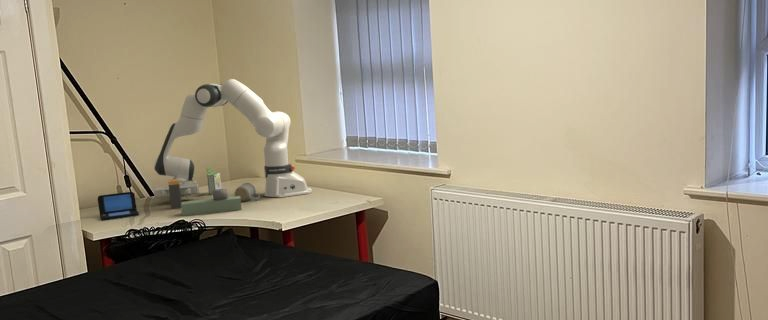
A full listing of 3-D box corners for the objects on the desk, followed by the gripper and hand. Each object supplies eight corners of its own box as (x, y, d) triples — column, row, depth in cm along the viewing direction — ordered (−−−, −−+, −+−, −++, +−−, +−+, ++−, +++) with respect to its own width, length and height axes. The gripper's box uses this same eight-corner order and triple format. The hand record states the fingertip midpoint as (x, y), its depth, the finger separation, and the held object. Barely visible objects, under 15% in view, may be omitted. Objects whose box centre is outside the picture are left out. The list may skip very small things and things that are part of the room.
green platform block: (240, 204, 322) (239, 184, 321) (241, 209, 310) (239, 189, 309) (183, 210, 317) (181, 190, 315) (182, 215, 305) (180, 195, 303)
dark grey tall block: (182, 205, 328) (179, 178, 326) (181, 208, 322) (178, 180, 320) (172, 206, 327) (169, 179, 325) (171, 209, 321) (168, 181, 319)
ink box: (216, 194, 349) (213, 167, 347) (208, 195, 350) (205, 168, 348) (222, 192, 356) (219, 165, 354) (214, 192, 357) (212, 165, 355)
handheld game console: (101, 221, 305) (98, 200, 304) (99, 216, 317) (96, 195, 316) (139, 216, 312) (137, 195, 310) (136, 210, 324) (133, 190, 322)
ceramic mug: (234, 202, 327) (233, 185, 326) (241, 198, 335) (239, 182, 334) (256, 202, 325) (255, 185, 324) (262, 198, 333) (261, 182, 332)
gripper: (154, 184, 337) (151, 189, 324) (198, 179, 341) (197, 184, 328) (155, 197, 338) (153, 202, 325) (200, 192, 342) (199, 197, 329)
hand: (175, 193), depth 326 cm, fingers open, 8 cm apart
